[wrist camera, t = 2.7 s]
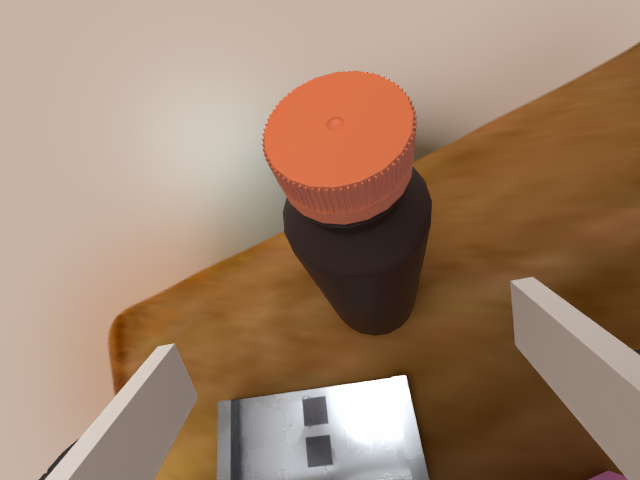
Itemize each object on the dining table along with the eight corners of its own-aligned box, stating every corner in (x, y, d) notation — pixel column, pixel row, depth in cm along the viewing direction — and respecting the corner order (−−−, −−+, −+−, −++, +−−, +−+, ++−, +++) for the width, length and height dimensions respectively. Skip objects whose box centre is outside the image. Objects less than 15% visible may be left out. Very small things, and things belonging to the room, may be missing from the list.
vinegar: (385, 353, 26) (363, 264, 8) (319, 305, 28) (194, 159, 11) (430, 285, 27) (495, 83, 10) (363, 245, 30) (317, 32, 12)
